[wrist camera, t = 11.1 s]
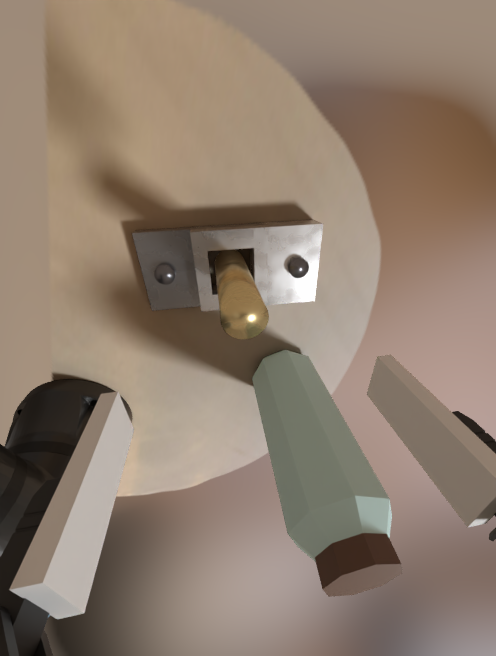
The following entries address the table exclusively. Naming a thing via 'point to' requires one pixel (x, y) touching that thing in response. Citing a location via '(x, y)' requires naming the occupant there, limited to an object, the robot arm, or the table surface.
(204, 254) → the chain ends
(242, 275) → the pin
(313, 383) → the water bottle
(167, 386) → the table surface
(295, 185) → the table surface
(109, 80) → the table surface
